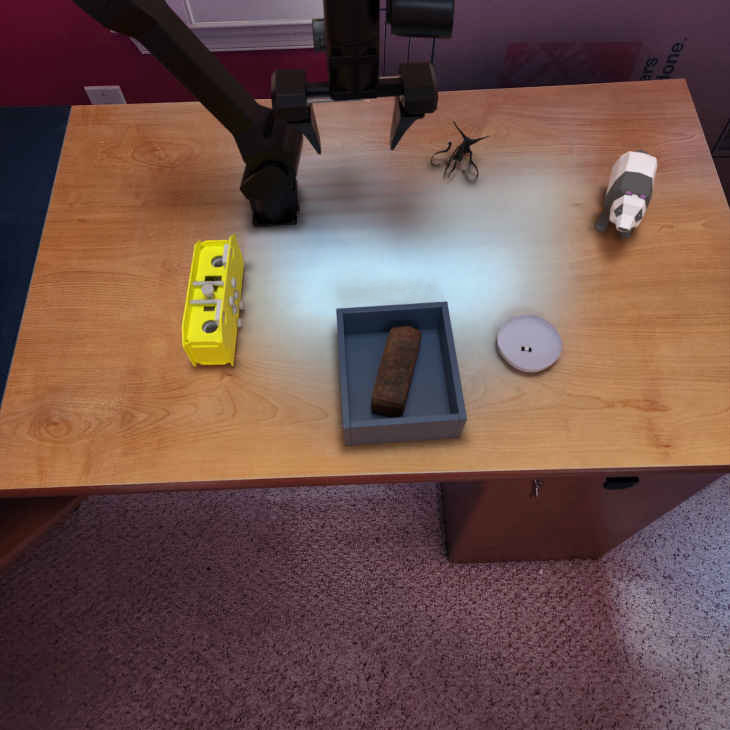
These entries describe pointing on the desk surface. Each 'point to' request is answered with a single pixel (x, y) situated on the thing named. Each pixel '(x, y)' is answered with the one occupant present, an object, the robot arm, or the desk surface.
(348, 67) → the robot arm
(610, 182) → the giant panda
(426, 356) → the bin
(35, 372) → the desk surface
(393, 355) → the brick
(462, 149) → the creature
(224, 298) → the yellow toy chassis
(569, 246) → the desk surface
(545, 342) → the pale lavender disc
